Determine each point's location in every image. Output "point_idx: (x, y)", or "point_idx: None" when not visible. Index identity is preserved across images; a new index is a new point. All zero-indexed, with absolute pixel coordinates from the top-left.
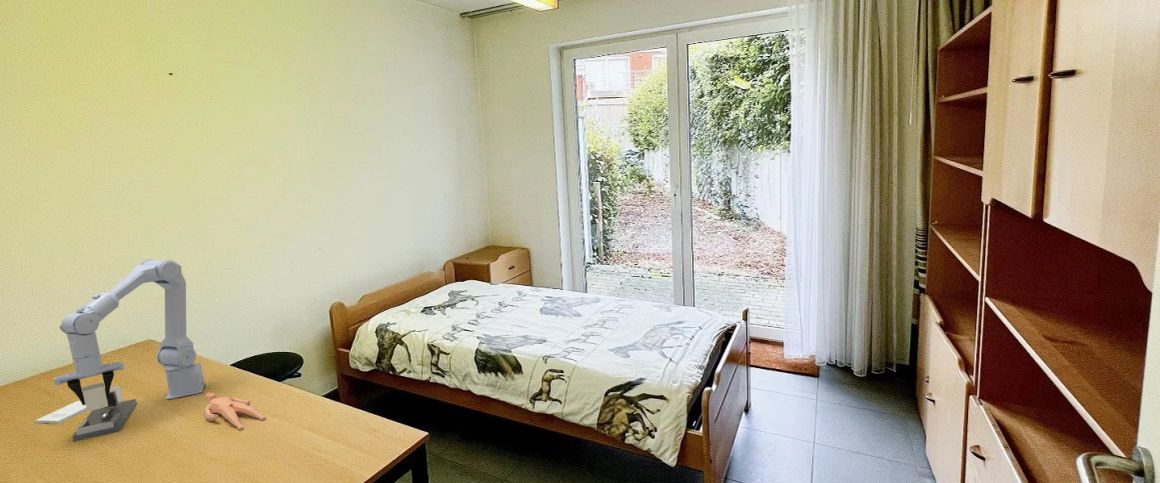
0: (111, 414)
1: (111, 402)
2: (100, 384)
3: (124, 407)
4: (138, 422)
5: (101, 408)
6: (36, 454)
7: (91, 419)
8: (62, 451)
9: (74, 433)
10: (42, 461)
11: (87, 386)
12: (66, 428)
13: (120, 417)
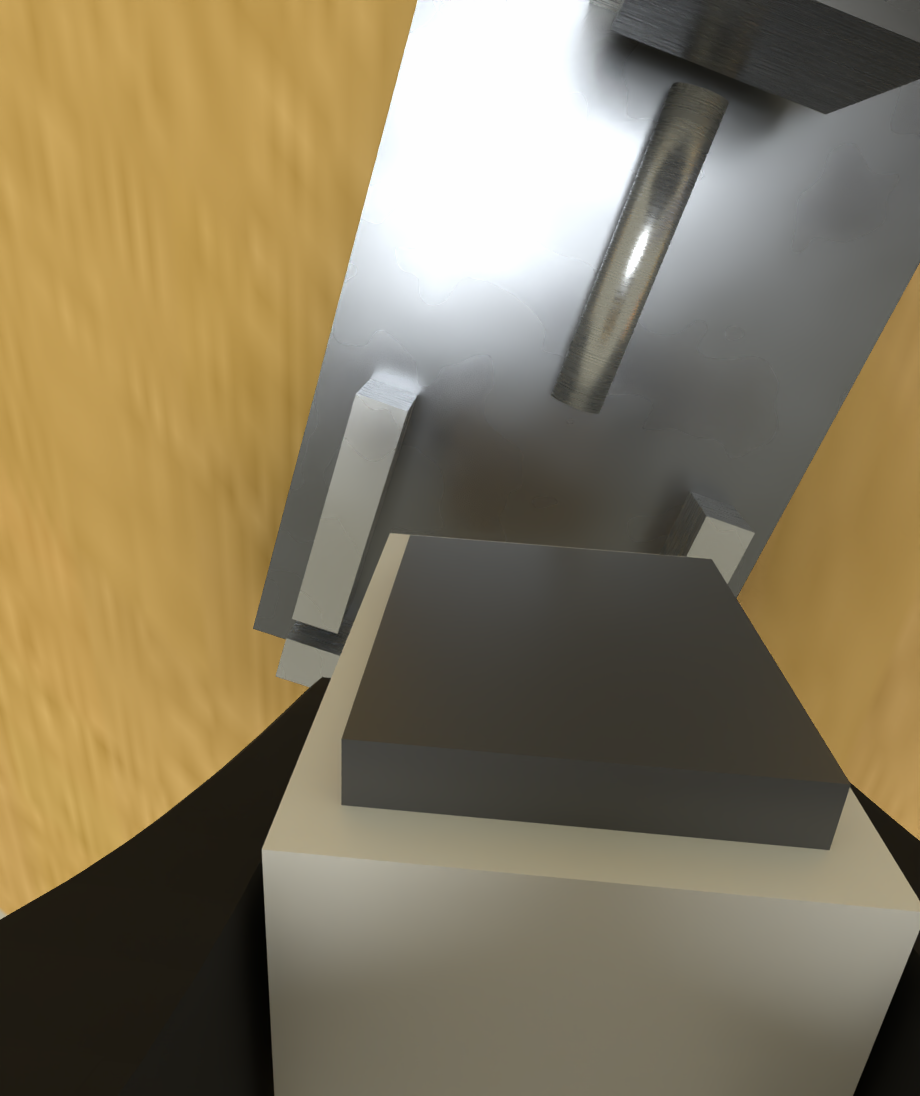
0: (690, 268)
1: (804, 79)
2: (765, 1085)
3: (909, 92)
4: (834, 654)
5: (624, 32)
6: (4, 630)
7: (454, 217)
8: (201, 753)
9: (271, 571)
10: (82, 817)
11: (415, 947)
12: (179, 44)
13: (737, 510)
